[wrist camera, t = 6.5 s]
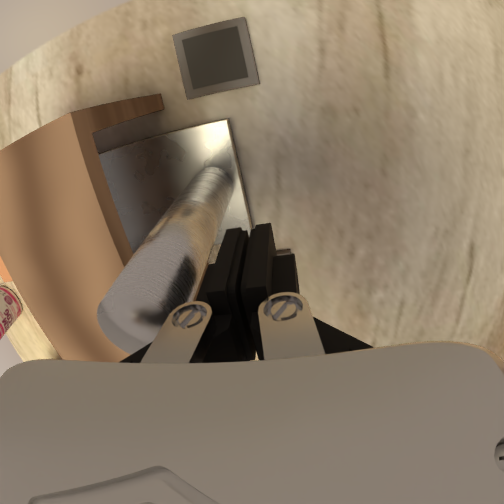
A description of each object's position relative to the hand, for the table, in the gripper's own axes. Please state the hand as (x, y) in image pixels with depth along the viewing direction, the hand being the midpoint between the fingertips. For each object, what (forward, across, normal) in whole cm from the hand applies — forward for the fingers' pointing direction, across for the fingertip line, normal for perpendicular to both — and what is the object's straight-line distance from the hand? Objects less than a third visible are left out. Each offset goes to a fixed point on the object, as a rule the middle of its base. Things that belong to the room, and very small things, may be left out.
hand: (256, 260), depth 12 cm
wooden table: (+12, +14, 0) cm, 19 cm away
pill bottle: (+12, +36, +9) cm, 39 cm away
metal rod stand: (+12, +14, 0) cm, 18 cm away
